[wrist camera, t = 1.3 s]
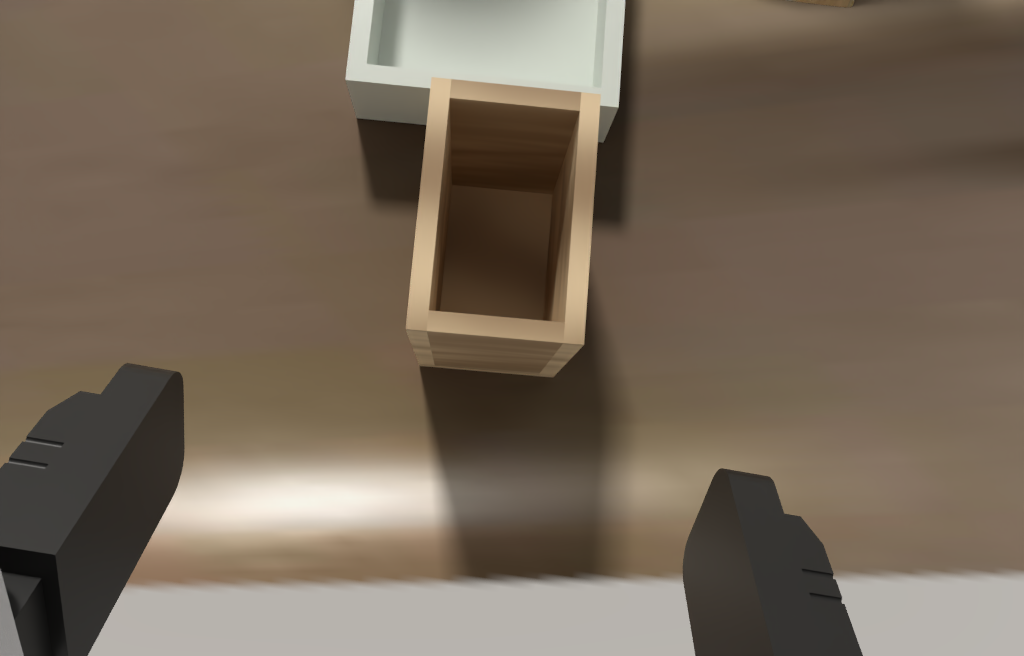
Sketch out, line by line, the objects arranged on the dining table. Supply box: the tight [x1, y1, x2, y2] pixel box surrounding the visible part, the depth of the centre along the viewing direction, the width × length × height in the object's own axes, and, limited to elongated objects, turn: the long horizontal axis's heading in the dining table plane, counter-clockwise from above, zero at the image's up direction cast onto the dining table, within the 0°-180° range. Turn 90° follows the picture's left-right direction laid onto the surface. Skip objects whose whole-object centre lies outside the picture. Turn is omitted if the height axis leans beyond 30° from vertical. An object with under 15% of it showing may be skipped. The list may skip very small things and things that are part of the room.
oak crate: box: [406, 77, 601, 377], centre depth 35 cm, size 9×6×10 cm, turn 176°
